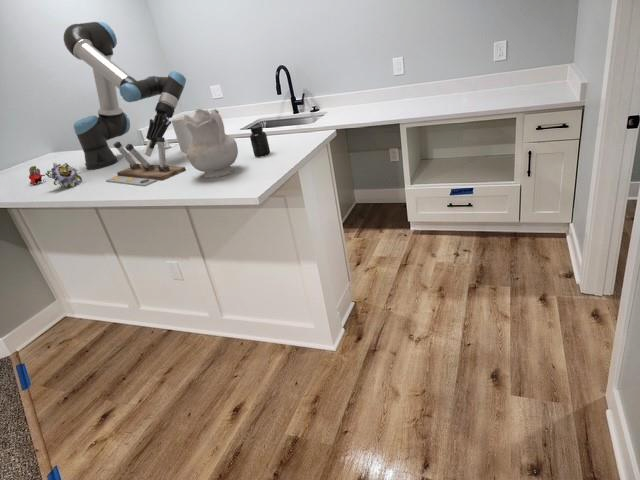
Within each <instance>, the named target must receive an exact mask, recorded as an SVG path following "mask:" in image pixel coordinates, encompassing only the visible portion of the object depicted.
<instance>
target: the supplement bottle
mask: <svg viewBox="0 0 640 480" xmlns="http://www.w3.org/2000/svg"><path fill="white" fill-rule="evenodd" d="M249 128H250V133H251V134H250V136H249V138H250V143H251V148H252V151H253V155H254V157H255V158H262V157H261V156H264V157H266V156H265V155H267V156H269V155H270V154H271V150H270V145H269V141H268V135H267V133H266V131H264V129H263V126H262V124H259V125H258V124H257V125H253V126H251V127H249ZM268 154H269V155H268Z"/></svg>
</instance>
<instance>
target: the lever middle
mask: <svg viewBox="0 0 640 480" xmlns="http://www.w3.org/2000/svg"><path fill="white" fill-rule="evenodd" d="M124 149H125V150H126V151H127V152H128V153H130V154H131V155H132V156H133V157H134V158H135V159H136V160H137V161H138V162H139V164H142V165H143V166H144V167H145V168H146V169H149V167H148V166H149V165H151V164H150V163H149V162H148V161H147V159H146V158H144V157H143V155H141V153H140V152H138V150H137V149H135V147H134V146H133V144H131V143H127V144H126V146H125V147H124Z"/></svg>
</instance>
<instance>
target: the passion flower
mask: <svg viewBox="0 0 640 480" xmlns="http://www.w3.org/2000/svg"><path fill="white" fill-rule="evenodd" d="M80 174H81V170H80V169H79V170H78V169H76V166H71V165H69V163H68V162H65V163H63V164H61V163H59V164H58V163H57V162H53V167H52V168H51V170H50V169H49V170H46V172H45V176H47V178H49V179H50V178H51V179H53V180H54V181H53V185H55V186H56V185H60V186H61V187H64V188H68V187H70V188H74V187H75V182H74V181H76V182H80V181H81V182H82V177H81V176H80Z"/></svg>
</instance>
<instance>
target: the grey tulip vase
mask: <svg viewBox="0 0 640 480" xmlns="http://www.w3.org/2000/svg"><path fill="white" fill-rule="evenodd" d="M183 116H184V118H183V119H184V123H185V125H186V127H187V128H188V129H189V130H190V132H191V134H192V138H193V139H192V143H191V144H190V145H189V147H188V149H187V151H186V152H185V153H186V156H187V159H188V162H189V163H190V165H191V166H192V167H193V168H194V169H195V170H197V171H199V172H203V173H204V178H205V179H211V178H212V179H214V178H219V177H220V178H221V177H223V176H227V175H229V174H231V173H230V172H232V173H233V172H234V170H233V169H234V167H232V165H233V164H234V163H235V162H236V160H237V157H238V154H239V149H238V145H237V141H236V140H235V138H233V137H232V136H229V135H228V134H226V132H225V124H224V121H223V119H222V117H221V115H220V112H219V110H217V109H211V110H210V111H209V110H208V109H202V108H201V109H200V108H198V109H196V110H195V111H194V114H193V116H190V115H189V114H188V115H187V114H184V115H183Z"/></svg>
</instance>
